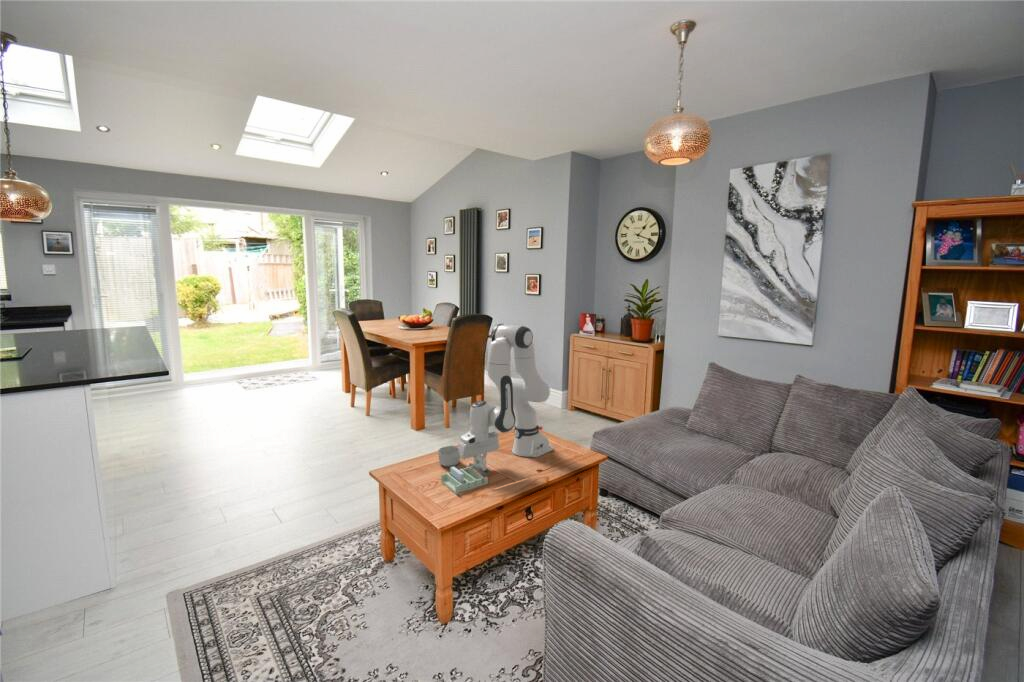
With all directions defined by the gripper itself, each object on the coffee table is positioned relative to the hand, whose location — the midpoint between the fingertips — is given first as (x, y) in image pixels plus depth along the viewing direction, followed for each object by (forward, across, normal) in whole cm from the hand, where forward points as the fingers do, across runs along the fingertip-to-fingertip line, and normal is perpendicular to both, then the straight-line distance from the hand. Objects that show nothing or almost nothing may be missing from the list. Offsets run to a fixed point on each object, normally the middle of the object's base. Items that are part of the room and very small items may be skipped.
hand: (479, 462), depth 217 cm
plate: (+2, 0, 0) cm, 2 cm away
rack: (+3, +13, +9) cm, 16 cm away
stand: (+4, 0, +1) cm, 4 cm away
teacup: (+4, +9, -14) cm, 17 cm away
